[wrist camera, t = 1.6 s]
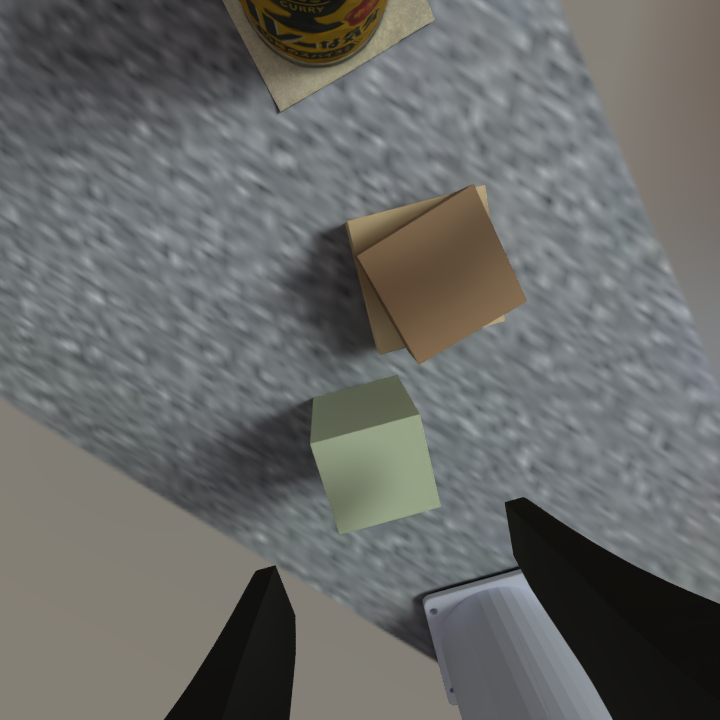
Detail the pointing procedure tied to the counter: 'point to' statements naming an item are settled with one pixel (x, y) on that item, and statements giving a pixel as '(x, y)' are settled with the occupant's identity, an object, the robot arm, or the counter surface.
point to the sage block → (372, 454)
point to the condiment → (320, 38)
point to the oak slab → (372, 230)
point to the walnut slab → (441, 274)
